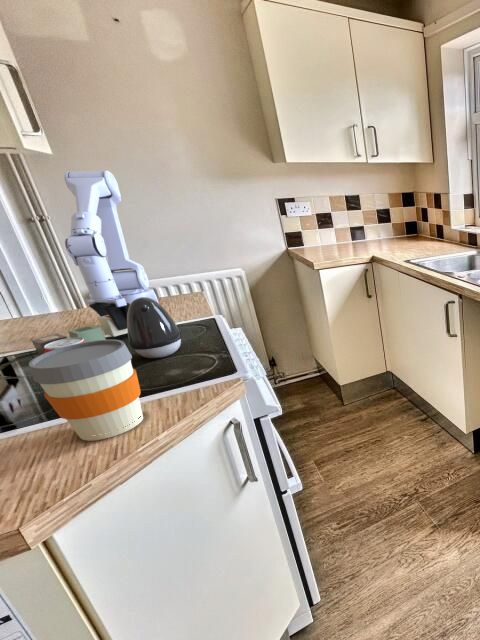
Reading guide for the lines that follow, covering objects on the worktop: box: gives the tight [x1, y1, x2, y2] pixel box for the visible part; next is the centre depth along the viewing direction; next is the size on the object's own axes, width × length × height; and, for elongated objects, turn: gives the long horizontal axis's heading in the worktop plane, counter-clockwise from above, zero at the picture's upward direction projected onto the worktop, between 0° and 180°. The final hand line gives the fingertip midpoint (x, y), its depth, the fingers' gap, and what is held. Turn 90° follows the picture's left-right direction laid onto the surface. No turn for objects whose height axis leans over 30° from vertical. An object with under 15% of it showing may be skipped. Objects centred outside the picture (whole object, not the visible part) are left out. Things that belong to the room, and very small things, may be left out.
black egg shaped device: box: [127, 297, 182, 359], centre depth 105 cm, size 10×10×15 cm
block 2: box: [67, 324, 107, 342], centre depth 113 cm, size 5×5×5 cm
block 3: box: [97, 315, 128, 338], centre depth 118 cm, size 5×5×5 cm
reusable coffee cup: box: [28, 339, 144, 442], centre depth 75 cm, size 13×13×15 cm
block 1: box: [31, 333, 68, 356], centre depth 107 cm, size 5×5×5 cm
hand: (118, 327), depth 119 cm, fingers closed on block 3, 5 cm apart
